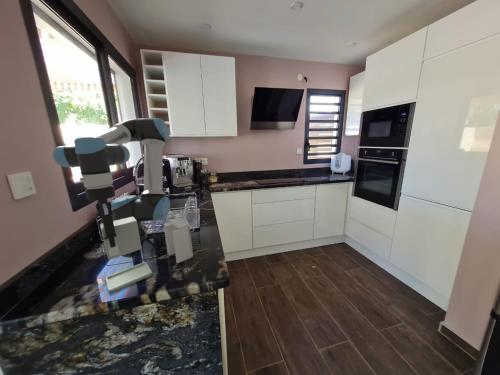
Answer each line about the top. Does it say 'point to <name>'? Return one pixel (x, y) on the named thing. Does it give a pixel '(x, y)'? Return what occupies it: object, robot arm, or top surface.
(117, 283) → the tray
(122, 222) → the upright pale grey block
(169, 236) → the printer bay
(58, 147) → the robot arm
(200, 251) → the top surface
